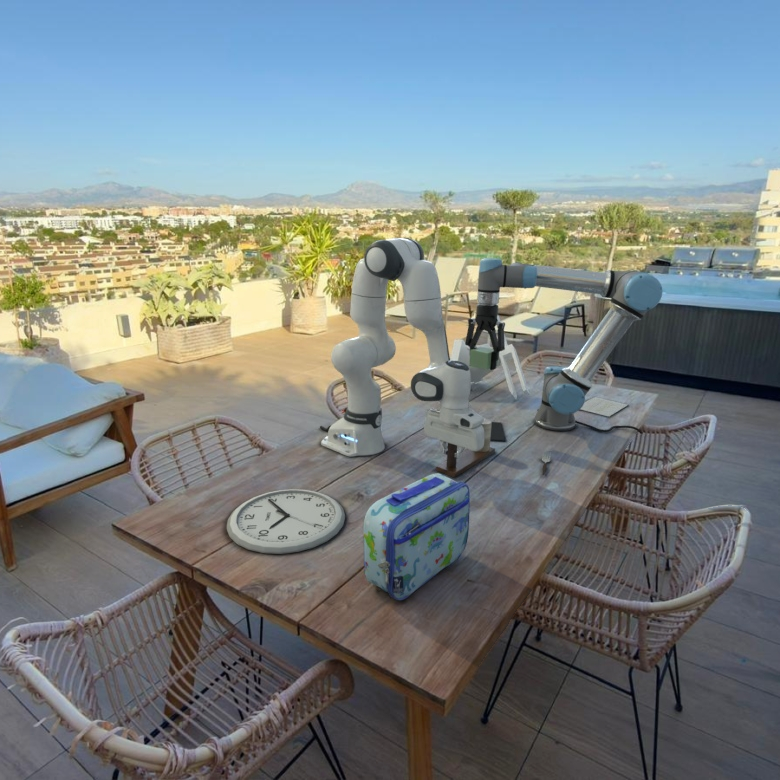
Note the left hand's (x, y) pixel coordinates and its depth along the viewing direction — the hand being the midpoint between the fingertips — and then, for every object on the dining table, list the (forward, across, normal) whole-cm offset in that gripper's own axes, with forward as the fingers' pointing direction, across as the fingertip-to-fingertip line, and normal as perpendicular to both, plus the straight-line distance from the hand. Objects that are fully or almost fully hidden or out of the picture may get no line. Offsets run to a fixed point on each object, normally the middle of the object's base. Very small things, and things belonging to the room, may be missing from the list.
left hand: (451, 455), depth 163 cm
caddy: (+5, 0, +9) cm, 11 cm away
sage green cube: (-20, -11, +35) cm, 42 cm away
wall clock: (+5, -16, -53) cm, 55 cm away
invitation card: (+5, +14, +96) cm, 97 cm away
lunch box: (+5, +23, -48) cm, 53 cm away
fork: (+5, +21, +23) cm, 31 cm away
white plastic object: (+5, -36, +78) cm, 85 cm away
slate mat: (+5, -11, +35) cm, 37 cm away
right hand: (-20, -11, +35) cm, 42 cm away
